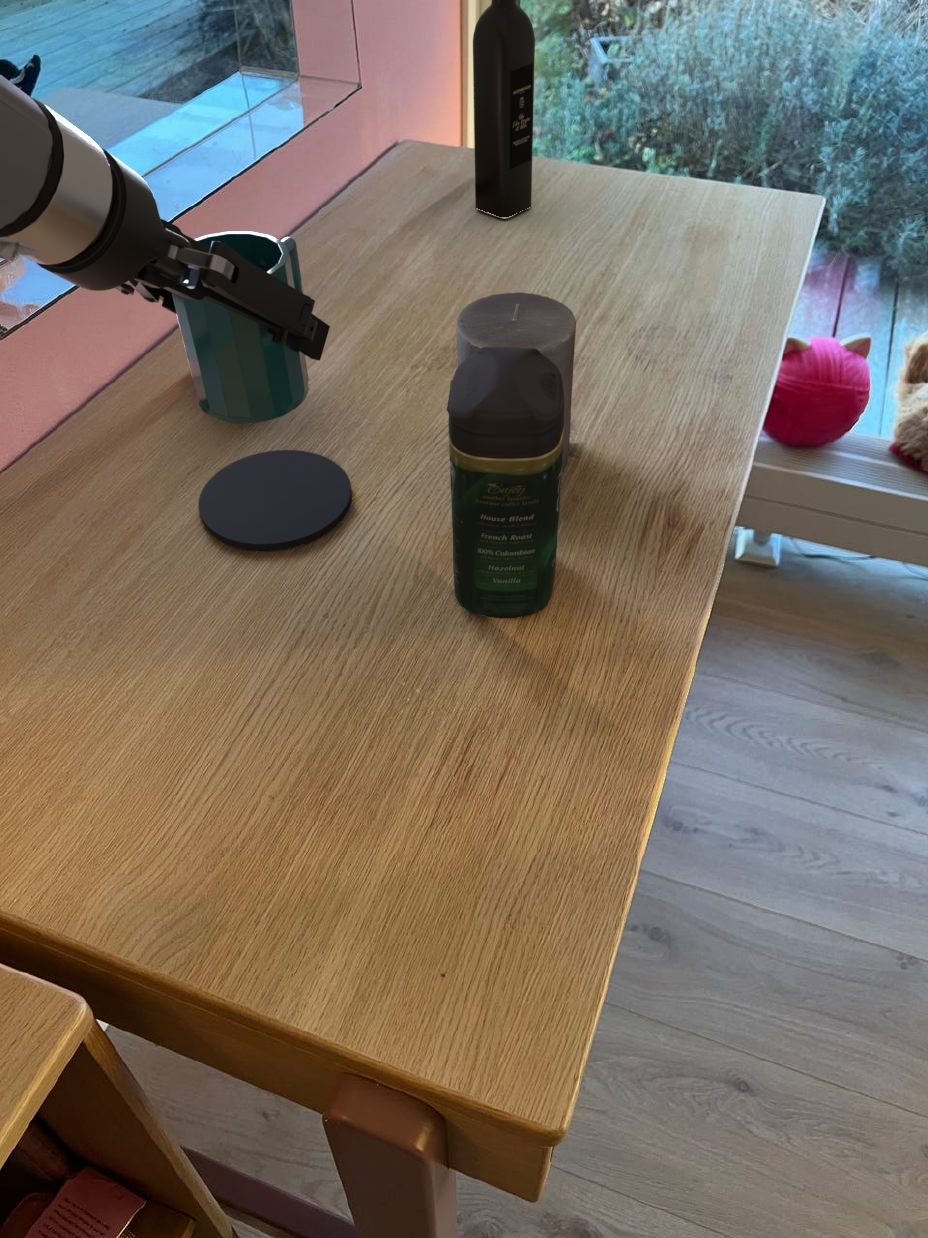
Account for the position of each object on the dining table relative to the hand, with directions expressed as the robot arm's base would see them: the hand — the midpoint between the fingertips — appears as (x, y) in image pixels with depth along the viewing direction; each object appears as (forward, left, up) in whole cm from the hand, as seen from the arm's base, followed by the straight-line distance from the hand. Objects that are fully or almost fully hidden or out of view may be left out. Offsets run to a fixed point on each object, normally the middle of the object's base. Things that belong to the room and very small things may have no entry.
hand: (269, 329), depth 78 cm
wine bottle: (-12, +58, -15) cm, 61 cm away
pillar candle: (+15, +12, -15) cm, 24 cm away
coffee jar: (+22, -2, -15) cm, 27 cm away
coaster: (0, -3, -15) cm, 15 cm away
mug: (0, -1, -4) cm, 4 cm away
